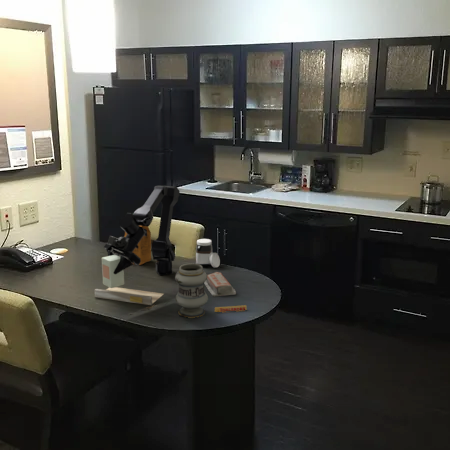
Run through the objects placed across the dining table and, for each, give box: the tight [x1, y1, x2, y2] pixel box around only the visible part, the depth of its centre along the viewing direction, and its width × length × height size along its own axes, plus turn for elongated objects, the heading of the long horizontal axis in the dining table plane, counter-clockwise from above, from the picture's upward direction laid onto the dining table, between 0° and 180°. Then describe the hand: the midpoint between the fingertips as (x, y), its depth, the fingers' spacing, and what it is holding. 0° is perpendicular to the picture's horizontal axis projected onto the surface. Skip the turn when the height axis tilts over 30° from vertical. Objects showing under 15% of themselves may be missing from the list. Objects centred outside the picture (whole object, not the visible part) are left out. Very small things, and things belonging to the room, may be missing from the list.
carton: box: [101, 255, 125, 288], centre depth 207 cm, size 6×6×11 cm
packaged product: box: [204, 271, 237, 298], centre depth 220 cm, size 18×5×10 cm
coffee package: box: [124, 226, 152, 266], centre depth 250 cm, size 10×12×22 cm
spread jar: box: [195, 238, 221, 269], centre depth 247 cm, size 12×11×12 cm
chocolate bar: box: [214, 304, 248, 313], centre depth 198 cm, size 3×12×2 cm, turn 101°
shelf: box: [94, 286, 164, 309], centre depth 207 cm, size 12×24×4 cm, turn 72°
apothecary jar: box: [174, 262, 209, 319], centre depth 194 cm, size 12×12×18 cm
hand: (109, 271), depth 206 cm, fingers closed on carton, 6 cm apart
